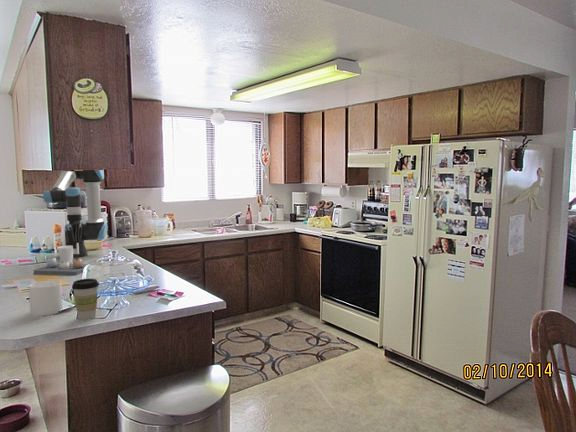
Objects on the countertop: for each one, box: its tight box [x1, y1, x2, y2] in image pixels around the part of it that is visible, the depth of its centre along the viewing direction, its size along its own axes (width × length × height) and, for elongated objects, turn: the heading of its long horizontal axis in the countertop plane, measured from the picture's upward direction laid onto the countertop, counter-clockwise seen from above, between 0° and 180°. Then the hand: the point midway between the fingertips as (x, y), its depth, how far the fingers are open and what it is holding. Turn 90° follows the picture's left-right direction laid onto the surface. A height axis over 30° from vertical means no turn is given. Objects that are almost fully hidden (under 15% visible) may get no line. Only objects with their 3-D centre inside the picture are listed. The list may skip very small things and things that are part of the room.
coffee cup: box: [71, 278, 100, 321], centre depth 168 cm, size 10×10×15 cm
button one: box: [46, 257, 57, 267], centre depth 246 cm, size 5×5×5 cm
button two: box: [59, 261, 69, 269], centre depth 246 cm, size 5×5×5 cm
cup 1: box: [28, 279, 63, 317], centre depth 175 cm, size 12×12×12 cm
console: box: [33, 263, 87, 276], centre depth 246 cm, size 18×26×2 cm
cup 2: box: [56, 245, 74, 264], centre depth 263 cm, size 10×10×11 cm
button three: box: [72, 257, 83, 268], centre depth 245 cm, size 5×5×5 cm
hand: (76, 253), depth 244 cm, fingers closed
